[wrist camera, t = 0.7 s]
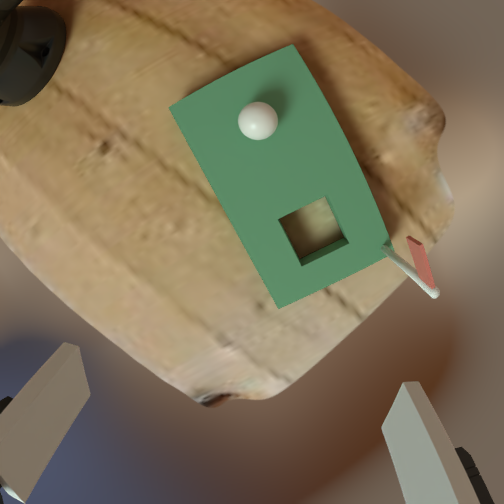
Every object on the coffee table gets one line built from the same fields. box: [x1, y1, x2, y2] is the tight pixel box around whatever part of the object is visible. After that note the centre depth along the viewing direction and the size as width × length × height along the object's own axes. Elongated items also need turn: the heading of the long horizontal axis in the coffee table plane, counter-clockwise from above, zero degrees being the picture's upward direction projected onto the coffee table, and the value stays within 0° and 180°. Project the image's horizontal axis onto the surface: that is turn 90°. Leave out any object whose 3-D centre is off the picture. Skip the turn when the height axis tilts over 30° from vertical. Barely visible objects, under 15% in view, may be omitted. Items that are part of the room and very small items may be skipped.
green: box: [169, 44, 395, 309], centre depth 31 cm, size 24×14×2 cm, turn 28°
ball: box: [238, 102, 278, 140], centre depth 27 cm, size 4×4×4 cm
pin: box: [381, 236, 440, 298], centre depth 25 cm, size 4×1×12 cm, turn 28°
